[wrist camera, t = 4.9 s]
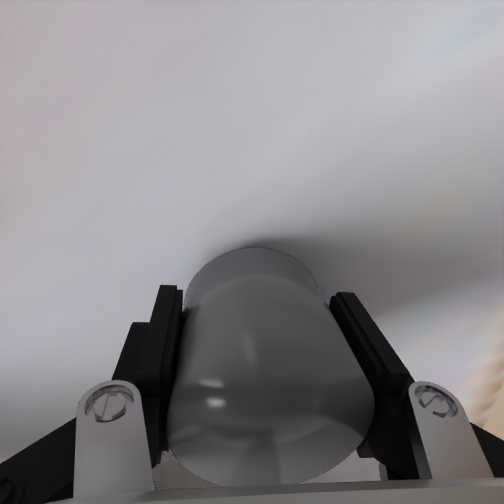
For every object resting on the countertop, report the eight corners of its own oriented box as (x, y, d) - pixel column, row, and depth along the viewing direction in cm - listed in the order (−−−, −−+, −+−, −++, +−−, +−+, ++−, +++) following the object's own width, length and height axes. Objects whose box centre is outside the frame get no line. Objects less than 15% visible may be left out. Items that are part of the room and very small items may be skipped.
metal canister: (184, 243, 11) (165, 341, 7) (331, 251, 12) (400, 345, 8) (181, 360, 14) (165, 493, 9) (306, 361, 14) (348, 486, 10)
